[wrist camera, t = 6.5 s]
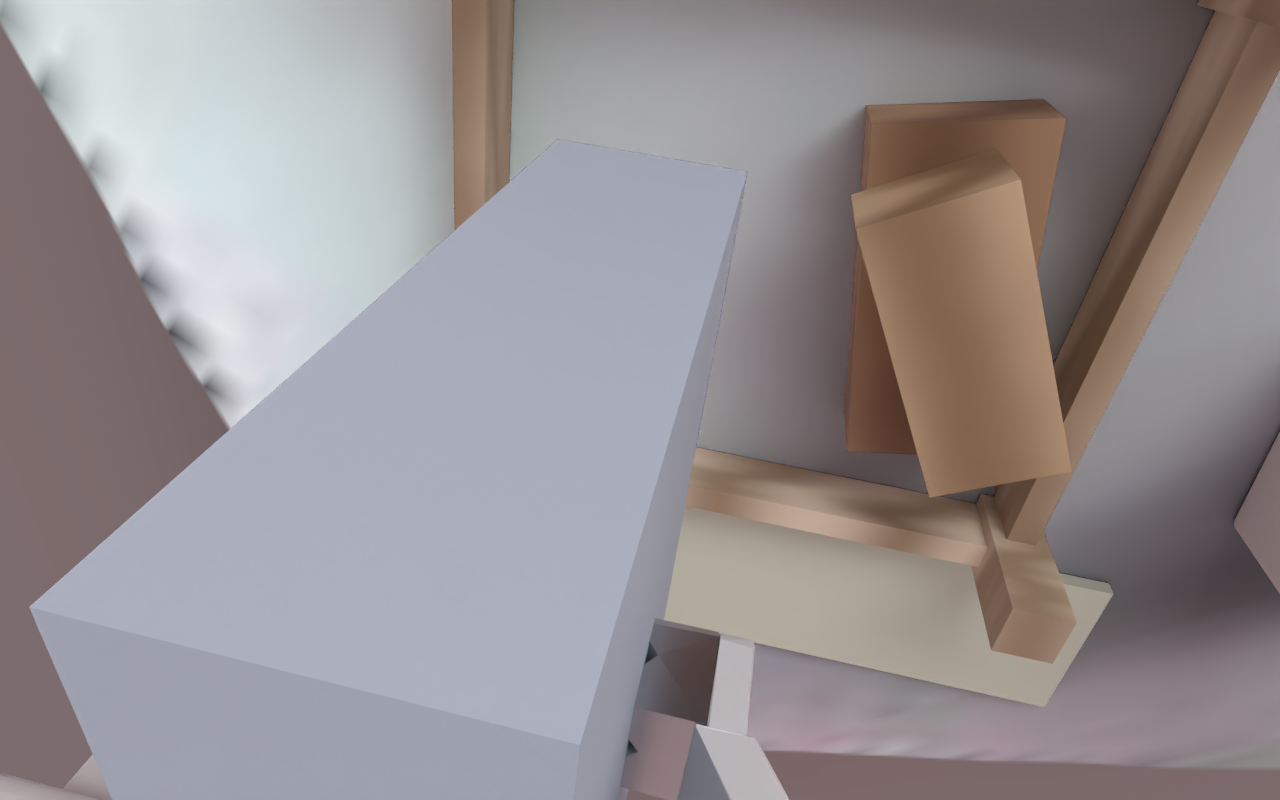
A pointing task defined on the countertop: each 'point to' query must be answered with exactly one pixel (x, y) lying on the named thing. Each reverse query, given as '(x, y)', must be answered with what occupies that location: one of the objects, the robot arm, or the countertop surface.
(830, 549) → the mat
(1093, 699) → the countertop surface
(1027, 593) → the rack
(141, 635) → the lavender grey box
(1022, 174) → the offcut lower
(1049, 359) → the offcut upper
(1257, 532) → the soap bottle
